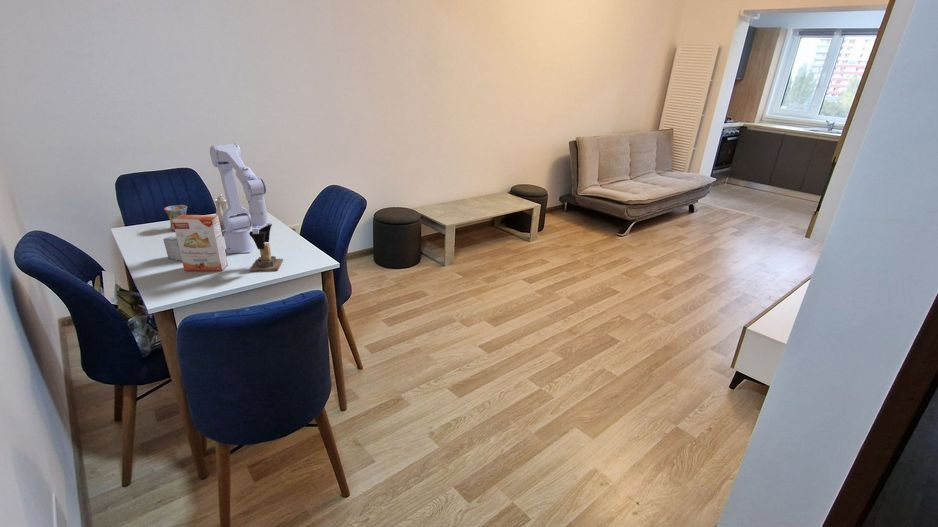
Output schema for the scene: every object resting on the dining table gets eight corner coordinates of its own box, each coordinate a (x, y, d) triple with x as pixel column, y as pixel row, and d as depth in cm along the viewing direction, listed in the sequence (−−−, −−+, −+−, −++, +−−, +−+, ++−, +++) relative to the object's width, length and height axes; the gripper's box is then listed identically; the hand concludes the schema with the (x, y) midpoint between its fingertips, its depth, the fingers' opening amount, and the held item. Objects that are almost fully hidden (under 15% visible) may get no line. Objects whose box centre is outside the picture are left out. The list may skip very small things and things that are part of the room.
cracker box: (183, 271, 170) (171, 218, 162) (191, 265, 175) (179, 214, 167) (222, 271, 171) (211, 219, 163) (228, 265, 176) (218, 214, 168)
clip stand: (250, 271, 171) (248, 264, 170) (256, 261, 180) (255, 254, 179) (277, 270, 173) (276, 263, 172) (283, 260, 182) (282, 254, 181)
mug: (194, 229, 214) (189, 208, 210) (172, 233, 208) (166, 211, 203) (187, 223, 221) (182, 202, 217) (165, 227, 215) (160, 205, 211)
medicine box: (192, 257, 183) (187, 237, 179) (182, 261, 179) (177, 241, 175) (177, 254, 185) (172, 235, 181) (167, 258, 181) (162, 238, 178)
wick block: (262, 265, 175) (259, 246, 172) (264, 262, 177) (260, 243, 174) (270, 265, 175) (267, 246, 172) (272, 262, 178) (269, 243, 175)
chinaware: (245, 238, 210) (243, 203, 204) (205, 236, 205) (202, 201, 199) (255, 220, 235) (254, 189, 229) (220, 218, 230) (217, 186, 224)
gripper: (264, 217, 162) (270, 252, 167) (273, 206, 175) (278, 238, 181) (243, 217, 161) (250, 252, 166) (254, 206, 174) (260, 239, 179)
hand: (263, 245), depth 173 cm, fingers open, 7 cm apart
